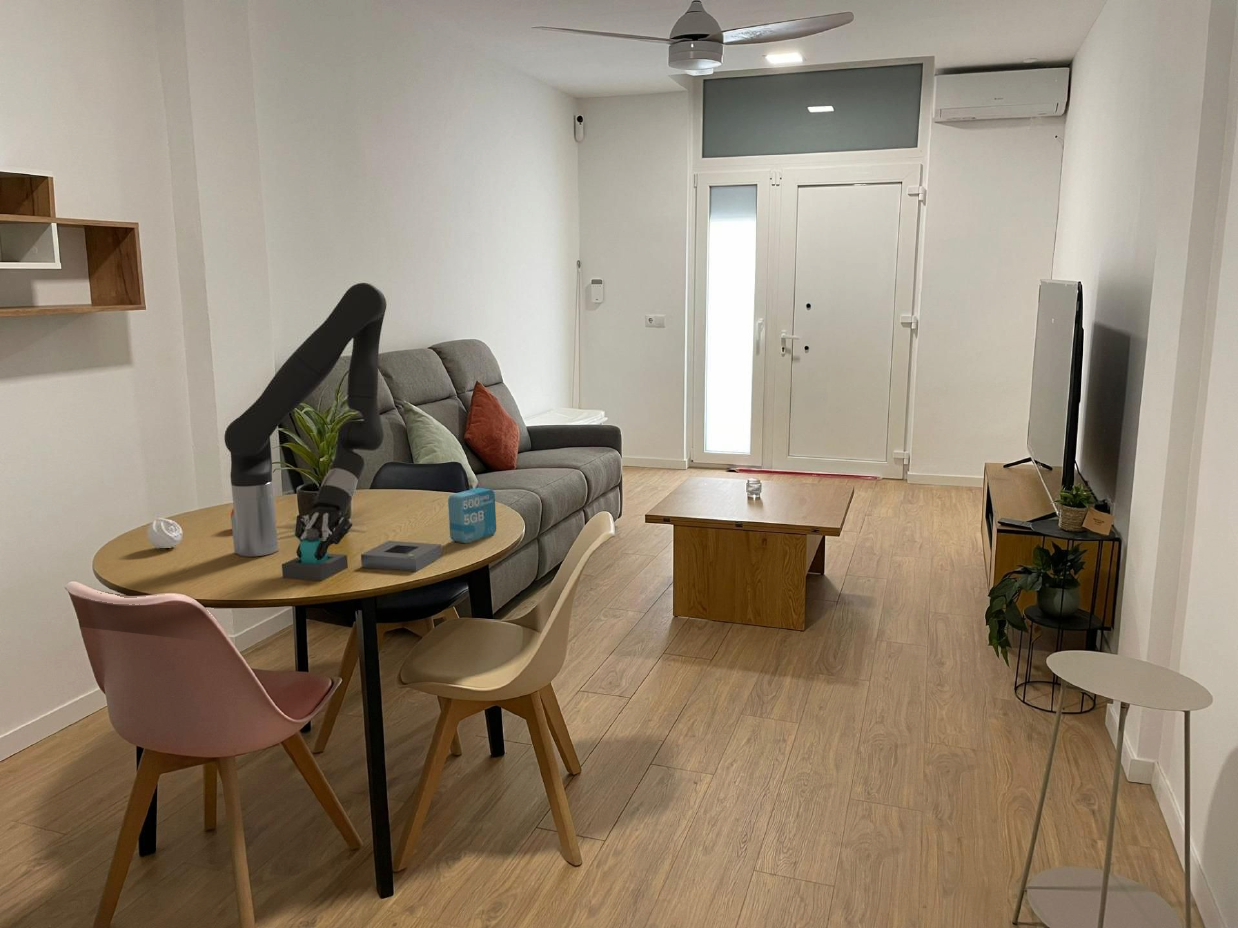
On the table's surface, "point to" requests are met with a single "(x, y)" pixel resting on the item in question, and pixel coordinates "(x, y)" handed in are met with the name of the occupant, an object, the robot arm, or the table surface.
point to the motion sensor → (164, 533)
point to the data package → (472, 515)
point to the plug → (311, 547)
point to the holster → (315, 568)
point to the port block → (401, 556)
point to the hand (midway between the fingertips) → (308, 557)
